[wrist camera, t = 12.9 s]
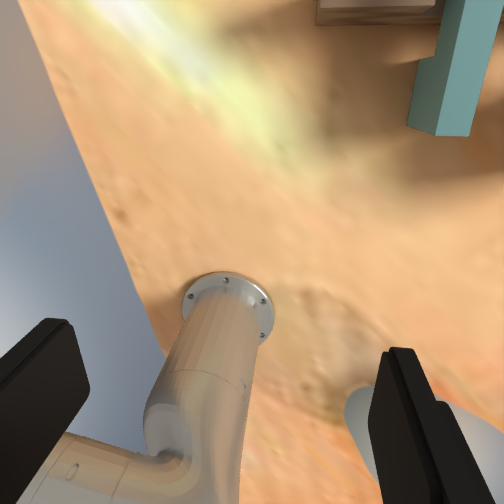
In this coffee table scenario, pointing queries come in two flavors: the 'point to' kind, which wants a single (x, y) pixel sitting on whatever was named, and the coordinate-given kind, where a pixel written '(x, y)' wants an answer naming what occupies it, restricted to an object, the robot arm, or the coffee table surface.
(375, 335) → the coffee table surface
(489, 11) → the teal plate
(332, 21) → the brown flat notched block
